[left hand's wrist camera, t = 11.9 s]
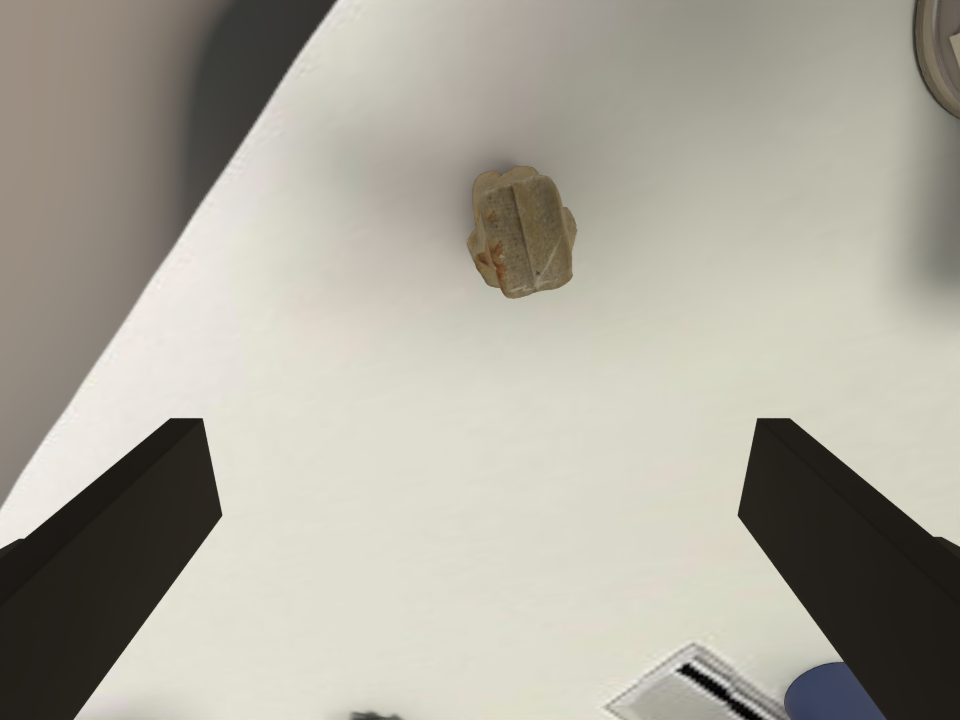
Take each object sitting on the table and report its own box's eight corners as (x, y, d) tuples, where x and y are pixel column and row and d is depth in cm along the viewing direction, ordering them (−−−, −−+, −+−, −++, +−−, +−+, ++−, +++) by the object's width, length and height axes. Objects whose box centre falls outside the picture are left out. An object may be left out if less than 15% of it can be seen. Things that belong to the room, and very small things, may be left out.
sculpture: (547, 160, 35) (593, 158, 21) (559, 267, 38) (607, 329, 24) (461, 175, 36) (449, 183, 21) (479, 280, 38) (478, 349, 24)
